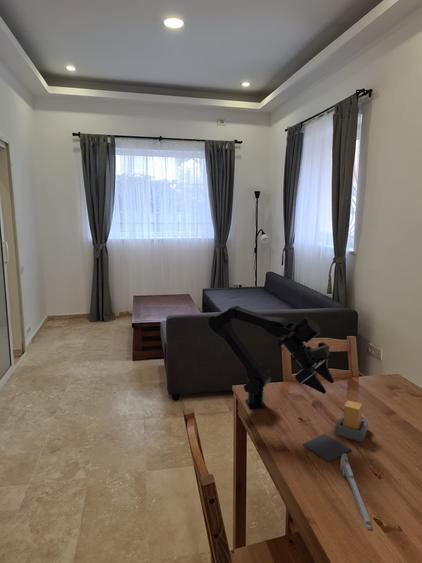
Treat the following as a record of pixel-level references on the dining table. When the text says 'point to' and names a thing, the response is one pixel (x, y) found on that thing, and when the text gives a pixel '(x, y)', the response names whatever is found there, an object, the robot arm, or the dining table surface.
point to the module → (352, 415)
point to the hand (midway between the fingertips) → (329, 387)
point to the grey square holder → (351, 430)
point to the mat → (327, 447)
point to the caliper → (354, 489)
